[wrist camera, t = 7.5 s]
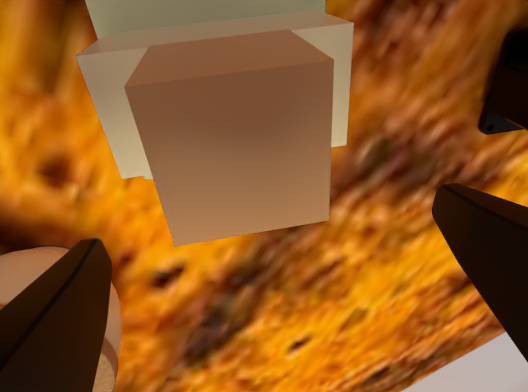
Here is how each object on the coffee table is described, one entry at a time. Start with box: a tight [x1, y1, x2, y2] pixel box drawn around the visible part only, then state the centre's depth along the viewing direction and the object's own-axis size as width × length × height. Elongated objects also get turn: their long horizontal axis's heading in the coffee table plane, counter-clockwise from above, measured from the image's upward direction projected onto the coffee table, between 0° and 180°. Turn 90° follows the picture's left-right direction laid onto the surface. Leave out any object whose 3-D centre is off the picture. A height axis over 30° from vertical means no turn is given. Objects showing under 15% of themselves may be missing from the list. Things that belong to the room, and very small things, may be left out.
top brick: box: [124, 29, 334, 246], centre depth 11 cm, size 5×5×5 cm
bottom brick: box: [76, 9, 354, 179], centre depth 16 cm, size 10×5×5 cm, turn 95°
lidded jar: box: [0, 246, 122, 392], centre depth 21 cm, size 11×11×9 cm
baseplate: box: [85, 0, 326, 180], centre depth 18 cm, size 11×11×1 cm
